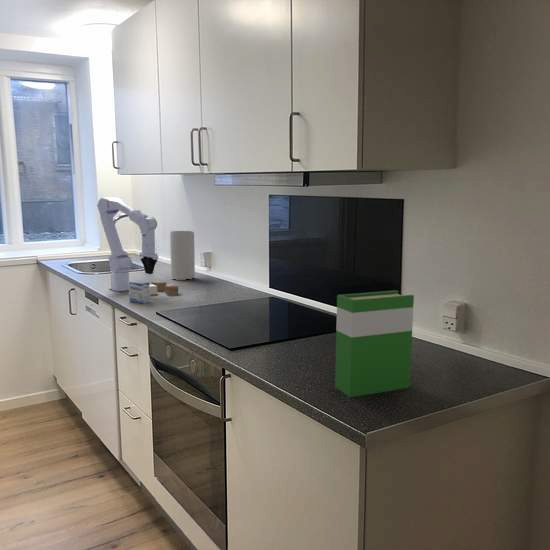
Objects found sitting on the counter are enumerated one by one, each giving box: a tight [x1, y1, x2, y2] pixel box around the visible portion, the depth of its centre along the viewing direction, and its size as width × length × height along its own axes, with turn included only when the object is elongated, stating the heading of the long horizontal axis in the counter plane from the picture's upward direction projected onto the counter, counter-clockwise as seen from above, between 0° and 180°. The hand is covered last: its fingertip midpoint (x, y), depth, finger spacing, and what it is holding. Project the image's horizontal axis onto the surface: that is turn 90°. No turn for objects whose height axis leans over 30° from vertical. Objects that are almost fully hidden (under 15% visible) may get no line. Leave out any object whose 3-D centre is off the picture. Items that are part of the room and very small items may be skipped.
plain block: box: [150, 284, 158, 296], centre depth 273 cm, size 5×5×4 cm
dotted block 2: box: [164, 283, 179, 296], centre depth 273 cm, size 5×5×4 cm
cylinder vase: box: [169, 230, 196, 281], centre depth 314 cm, size 12×12×25 cm
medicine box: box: [128, 280, 151, 304], centre depth 254 cm, size 8×4×9 cm, turn 62°
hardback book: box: [334, 289, 415, 398], centre depth 149 cm, size 18×7×24 cm, turn 114°
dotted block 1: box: [151, 280, 168, 292], centre depth 282 cm, size 5×5×4 cm
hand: (149, 273), depth 271 cm, fingers closed
